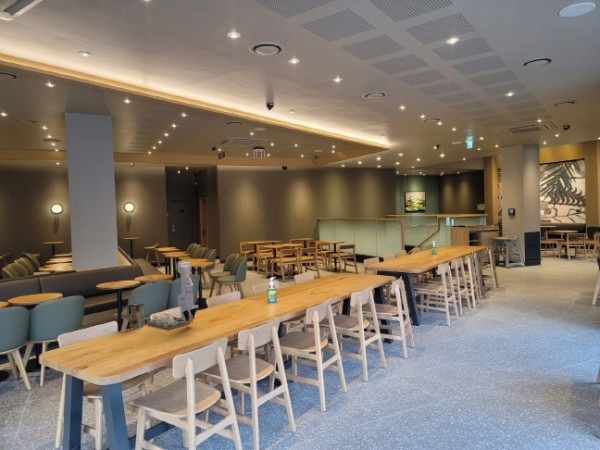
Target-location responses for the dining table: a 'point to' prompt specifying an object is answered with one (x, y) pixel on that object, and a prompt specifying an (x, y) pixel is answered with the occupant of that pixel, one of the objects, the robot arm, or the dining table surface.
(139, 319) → the coffee box
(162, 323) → the egg tray
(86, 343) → the dining table surface
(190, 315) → the terracotta egg
